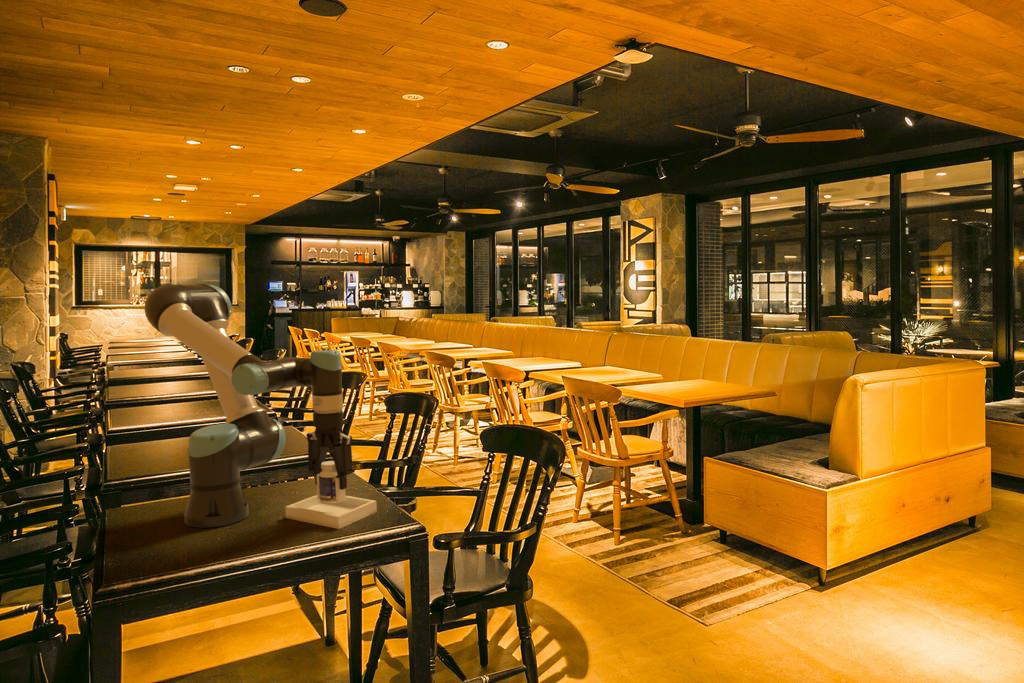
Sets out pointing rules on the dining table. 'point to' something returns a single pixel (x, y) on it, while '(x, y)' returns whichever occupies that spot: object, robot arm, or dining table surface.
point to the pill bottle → (328, 482)
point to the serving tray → (331, 511)
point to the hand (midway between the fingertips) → (331, 499)
